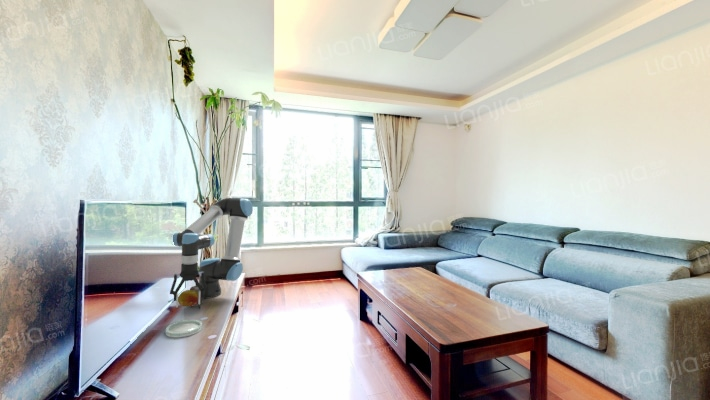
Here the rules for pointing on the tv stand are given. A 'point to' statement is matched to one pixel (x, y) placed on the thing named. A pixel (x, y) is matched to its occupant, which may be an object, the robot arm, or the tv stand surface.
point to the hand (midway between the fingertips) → (188, 304)
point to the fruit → (188, 298)
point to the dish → (183, 328)
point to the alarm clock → (195, 288)
